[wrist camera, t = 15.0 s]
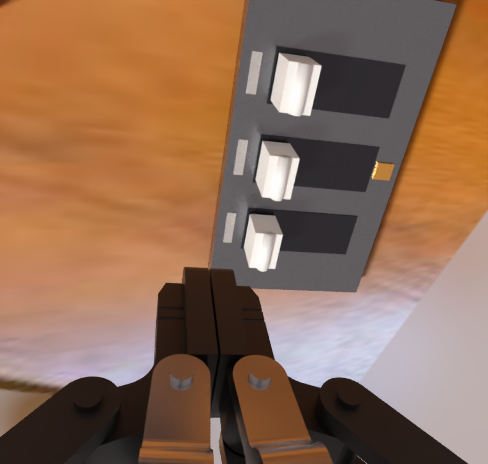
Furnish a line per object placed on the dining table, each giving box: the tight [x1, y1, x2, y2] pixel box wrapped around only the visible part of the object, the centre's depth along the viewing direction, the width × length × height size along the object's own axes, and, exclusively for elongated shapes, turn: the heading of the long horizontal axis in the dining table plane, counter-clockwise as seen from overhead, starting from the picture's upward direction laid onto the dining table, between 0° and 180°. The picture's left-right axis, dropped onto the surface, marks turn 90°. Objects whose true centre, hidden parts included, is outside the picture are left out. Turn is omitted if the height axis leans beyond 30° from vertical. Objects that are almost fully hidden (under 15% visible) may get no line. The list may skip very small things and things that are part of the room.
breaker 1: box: [244, 214, 283, 272], centre depth 40 cm, size 4×2×4 cm, turn 171°
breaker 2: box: [271, 53, 321, 116], centre depth 34 cm, size 4×2×4 cm, turn 171°
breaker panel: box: [208, 0, 457, 292], centre depth 41 cm, size 28×16×2 cm, turn 171°
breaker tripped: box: [256, 141, 300, 201], centre depth 37 cm, size 4×2×4 cm, turn 171°
